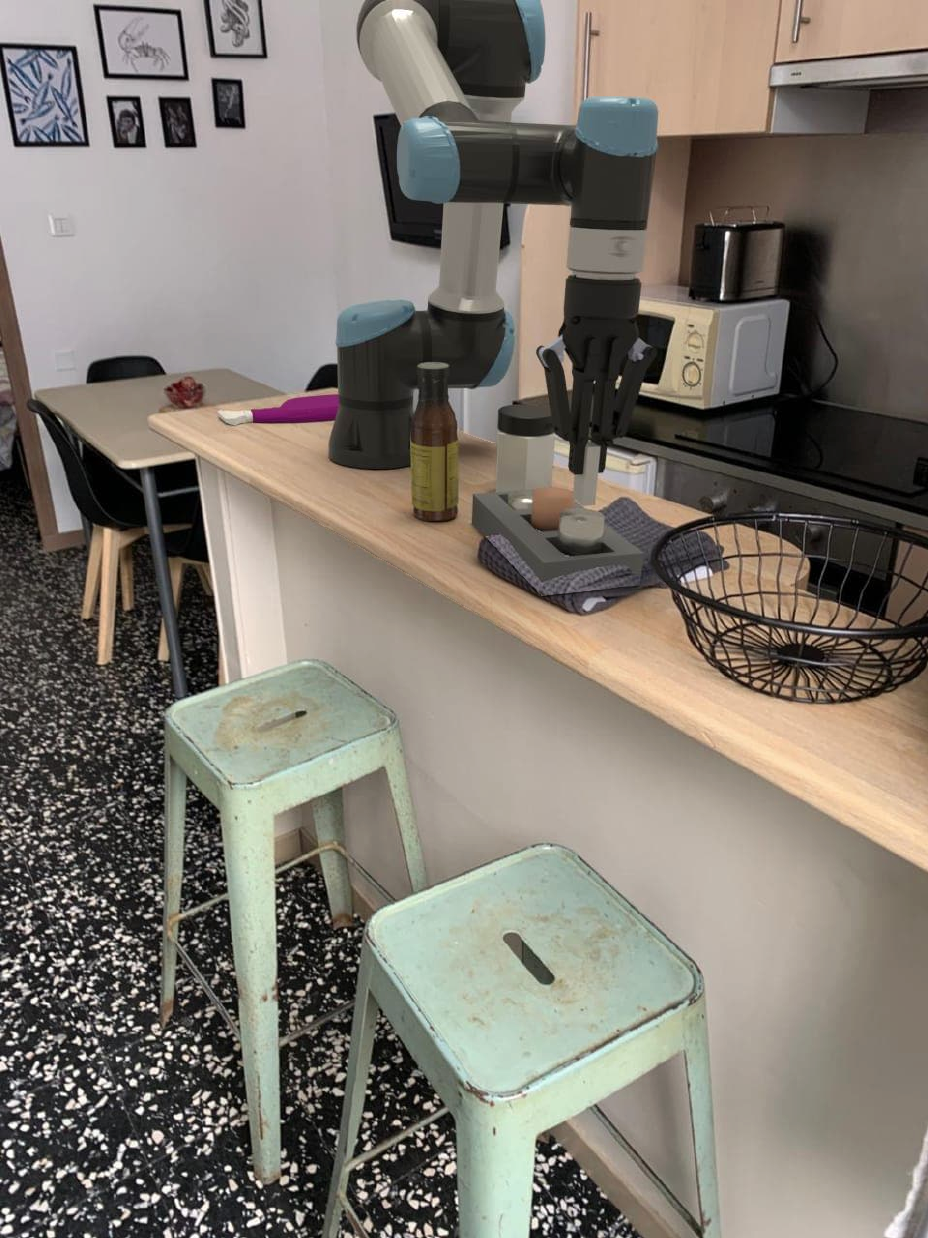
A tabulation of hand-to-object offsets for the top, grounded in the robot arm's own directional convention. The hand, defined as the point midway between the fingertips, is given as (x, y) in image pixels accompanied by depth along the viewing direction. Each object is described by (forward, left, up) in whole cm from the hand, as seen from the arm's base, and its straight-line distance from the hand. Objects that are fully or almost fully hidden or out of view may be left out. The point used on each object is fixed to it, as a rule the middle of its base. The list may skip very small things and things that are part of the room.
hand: (583, 501), depth 103 cm
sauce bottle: (-24, -10, -9) cm, 28 cm away
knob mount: (-8, 0, -9) cm, 12 cm away
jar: (-30, +5, -9) cm, 32 cm away
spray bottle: (-82, -20, -10) cm, 85 cm away
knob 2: (0, 0, -6) cm, 6 cm away
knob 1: (-16, 0, -9) cm, 18 cm away
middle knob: (-8, 0, -6) cm, 10 cm away
